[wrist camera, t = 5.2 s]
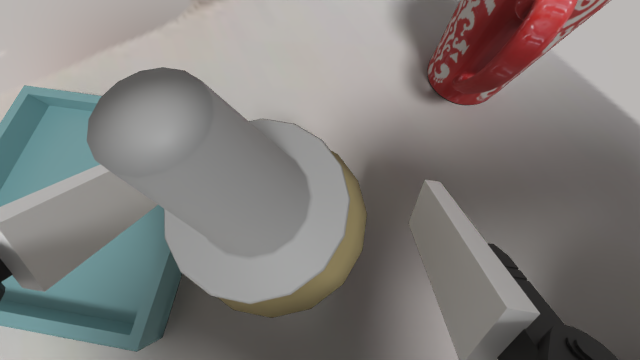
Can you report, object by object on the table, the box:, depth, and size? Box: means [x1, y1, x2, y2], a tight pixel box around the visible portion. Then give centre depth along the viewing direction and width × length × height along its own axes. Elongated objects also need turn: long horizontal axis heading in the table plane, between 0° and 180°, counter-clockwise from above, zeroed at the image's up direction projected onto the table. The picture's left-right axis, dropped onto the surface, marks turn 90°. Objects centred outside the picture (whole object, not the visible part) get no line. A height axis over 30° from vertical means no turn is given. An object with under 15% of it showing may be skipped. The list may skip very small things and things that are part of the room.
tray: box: [0, 85, 182, 352], centre depth 19 cm, size 18×18×2 cm
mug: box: [428, 0, 611, 105], centre depth 17 cm, size 13×9×14 cm
